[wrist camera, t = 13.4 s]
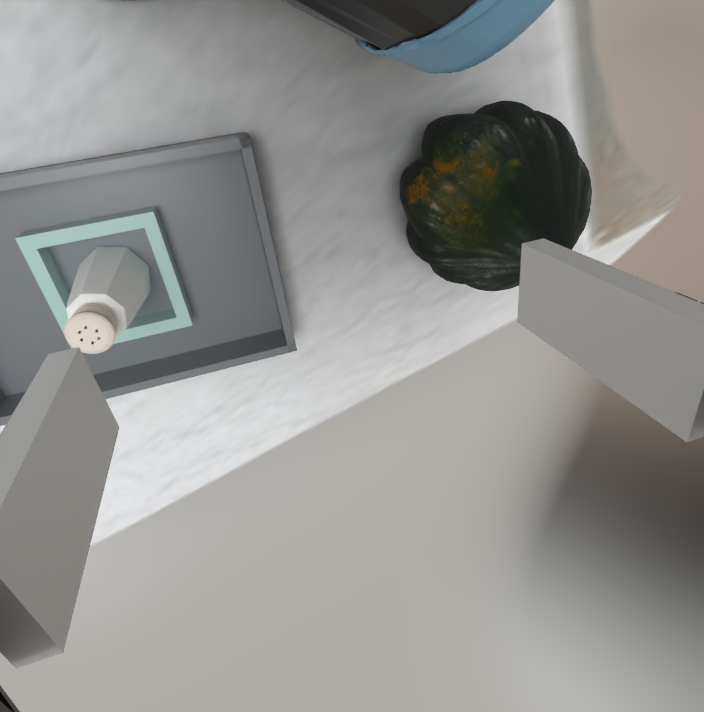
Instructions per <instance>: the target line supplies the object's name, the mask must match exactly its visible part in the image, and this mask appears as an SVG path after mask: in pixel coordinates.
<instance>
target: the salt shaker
mask: <svg viewBox="0 0 704 712" xmlns="http://www.w3.org/2000/svg"><path fill="white" fill-rule="evenodd" d="M150 291H151V283H150V272H149V266H148V265H147V264H146V263H145V262H144V261H143V260H141V259H140V258H139V257H138V256H137V255H135V254H134V253H133V252H132V251H131V250H130V249H128V248H127V247H97V248H96V249H95V250H94V251H93V252H92V253H91V254H90V255H89V256H88V257H86V258H85V259H84V260H83V261H82V262H81V263H80V264H79V267H78V270H77V274H76V277H75V280H74V283H73V286H72V289H71V293H70V296H69V299H68V302H67V307H66V310H67V316H68V321H67V322H66V324H65V327H64V335H65V338H66V340H67V342H68V343H69V344H70V345H71V346H72V347H73V348H77V347H79V348H80V350H81V352H83V353H88V354H98V353H102V352H104V351H106V350H108V349H109V348H110V347H111V346H112V345H113V343H114V341H115V339H116V338H117V337H118V336H119V335H120V334H121V333H122V332H123V331H124V330H125V329H126V328H127V327H128V326H129V324H130V323H131V321H132V320H133V318H134V317H135V315H136V314H137V312H138V310H139V309H140V307H141V306H142V304H143V302H144V301H145V299H146V298H147V296H148V295H149V293H150Z"/></svg>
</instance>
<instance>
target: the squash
mask: <svg viewBox="0 0 704 712" xmlns="http://www.w3.org/2000/svg"><path fill="white" fill-rule="evenodd" d="M591 196H592V188H591V181H590V176H589V171H588V169H587V167H586V165H585V163H584V162H583V161H582V159H581V158H580V156H579V155H578V151H577V148H576V145H575V143H574V140H573V138H572V136H571V134H570V133H569V131H568V130H567V128H566V127H565V126H564V125H563V124H562V123H561V122H560V121H558V120H557V119H555V118H553V117H552V116H550V115H548V114H545V113H542V112H539V111H533V110H532V109H531V108H530V107H528V106H526V105H524V104H522V103H519V102H513V101H500V102H496V103H492V104H489V105H485V106H483V107H482V108H481V109H479V110H478V111H476V112H475V114H456V115H449V116H443V117H440V118H438V119H436V120H434V121H432V122H431V123H430V124H428V126H427V128H426V130H425V132H424V136H423V140H422V158H421V159H419V160H417V161H415V162H413V163H412V164H410V165H409V166H408V167H407V168H406V169H405V170H404V172H403V174H402V176H401V180H400V199H401V202H402V205H403V208H404V211H405V213H406V215H407V218H408V223H407V229H406V235H407V239H408V242H409V245H410V247H411V248H412V250H413V251H414V253H415V254H416V255H417V256H419V257H420V258H421V259H422V260H424V261H425V262H427V263H429V264H430V266H431V267H432V269H433V271H434V272H435V273H436V274H437V275H439V276H440V277H442V278H443V279H445V280H447V281H450V282H454V283H459V284H466V285H468V286H471V287H473V288H475V289H479V290H484V291H499V290H505V289H510V288H513V287H516V286H518V285H520V267H521V249H522V243H526V242H530V241H535V240H539V239H543V238H544V239H546V240H549V241H551V242H553V243H556V244H558V245H561V246H563V247H566V248H568V249H570V250H572V249H573V247H574V245H575V244H576V242H577V240H578V238H579V237H580V235H581V233H582V232H583V230H584V228H585V226H586V223H587V219H588V216H589V212H590V205H591Z"/></svg>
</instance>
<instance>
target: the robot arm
mask: <svg viewBox="0 0 704 712" xmlns="http://www.w3.org/2000/svg"><path fill="white" fill-rule="evenodd" d="M283 1H285V2H287V3H289V4H291V5H293V6H294V7H296V8H298V9H300V10H302V11H304V12H306V13H308V14H310V15H312V16H313V17H315V18H317V19H319V20H321V21H323V22H325V23H327V24H329V25H331V26H332V27H334V28H336V29H338V30H340V31H342V32H344V33H346V34H348V35H349V36H351V37H353V38H355V41H356V43H357V44H358V45H359V46H360V47H362V48H364V49H365V50H367V51H369V52H371V53H373V54H378V55H386V56H391V57H393V58H395V59H397V60H399V61H402V62H404V63H406V64H408V65H410V66H412V67H415V68H417V69H419V70H421V71H424V72H428V73H452V72H458V71H462V70H465V69H467V68H470V67H472V66H475V65H477V64H479V63H481V62H483V61H485V60H486V59H488V58H489V57H491V56H493V55H494V54H496V53H497V52H499V51H500V50H501V49H503V48H504V47H506V46H507V45H508V44H509V43H511V42H512V41H513V40H514V39H516V38H517V37H518V36H519V35H520V34H521V33H522V32H524V31H525V30H526V29H527V28H528V27H529V26H530V25H531V24H532V23H533V22H534V21H535V20H536V19H537V18H538V17H539V16H540V15H541V14H542V13H543V12H544V11H545V10H546V9H547V8H548V7H549V6H550V5H551V4H552V2H553V1H554V0H283ZM518 323H520V324H521V325H523V326H524V327H526V328H527V329H528V330H530V331H531V332H532V333H534V334H536V335H537V336H538V337H540V338H541V339H542V340H544V341H545V342H547V343H548V344H549V345H551V346H552V347H554V348H555V349H556V350H558V351H559V352H561V353H562V354H563V355H565V356H567V357H568V358H569V359H570V360H572V361H574V362H575V363H576V364H578V365H579V366H580V367H582V368H583V369H585V370H586V371H587V372H589V373H590V374H592V375H593V376H595V377H596V378H597V379H599V380H600V381H602V382H603V383H604V384H606V385H607V386H609V387H610V388H611V389H613V390H614V391H616V392H617V393H619V394H620V395H621V396H623V397H624V398H626V399H627V400H628V401H630V402H631V403H633V404H634V405H635V406H637V407H638V408H640V409H641V410H643V411H644V412H645V413H647V414H648V415H649V416H651V417H652V418H654V419H655V420H657V421H658V422H659V423H661V424H662V425H664V426H665V427H666V428H668V429H670V430H671V431H672V432H673V433H675V434H676V435H678V436H679V437H681V438H682V439H683V440H685V441H686V442H689V441H692V440H695V439H698V438H701V437H704V303H701V302H700V303H699V302H697V300H694V299H692V298H689V297H687V296H685V295H682V294H680V293H676V292H672V291H670V290H667V289H665V288H663V287H660V286H658V285H655V284H653V283H651V282H648V281H646V280H643V279H641V278H638V277H636V276H633V275H631V274H629V273H626V272H624V271H621V270H619V269H616V268H614V267H612V266H609V265H607V264H604V263H602V262H600V261H597V260H595V259H592V258H590V257H587V256H585V255H583V254H580V253H578V252H575V251H573V250H570V249H568V248H566V247H563V246H561V245H558V244H556V243H553V242H551V241H549V240H546V239H544V238H543V239H539V240H535V241H530V242H526V243H522V249H521V267H520V285H519V303H518ZM118 430H119V426H118V424H117V422H116V420H115V418H114V416H113V414H112V412H111V410H110V408H109V406H108V404H107V402H106V400H105V398H104V396H103V394H102V392H101V390H100V388H99V386H98V384H97V382H96V380H95V378H94V376H93V374H92V372H91V370H90V368H89V366H88V364H87V362H86V360H85V358H84V356H83V354H82V352H81V350H80V348H79V347H77V348H73V349H68V350H64V351H60V352H55V353H51V354H48V355H47V357H46V359H45V360H44V362H43V364H42V365H41V367H40V369H39V370H38V372H37V374H36V375H35V377H34V379H33V381H32V382H31V384H30V386H29V387H28V389H27V391H26V392H25V394H24V396H23V397H22V399H21V401H20V402H19V404H18V406H17V407H16V409H15V411H14V412H13V414H12V416H11V417H10V419H9V421H8V422H7V424H6V426H5V427H4V429H3V431H2V432H1V434H0V652H1V653H2V654H3V655H4V656H5V657H6V658H7V659H8V661H10V663H11V664H12V665H13V666H14V667H15V668H19V667H21V666H24V665H28V664H30V663H33V662H36V661H39V660H42V659H45V658H48V657H51V656H54V655H57V654H60V653H63V651H64V647H65V643H66V639H67V635H68V631H69V627H70V622H71V619H72V615H73V611H74V607H75V603H76V599H77V595H78V591H79V587H80V583H81V578H82V575H83V571H84V567H85V563H86V559H87V555H88V550H89V547H90V543H91V539H92V535H93V531H94V527H95V523H96V519H97V515H98V511H99V507H100V502H101V498H102V494H103V490H104V486H105V482H106V478H107V474H108V470H109V466H110V462H111V458H112V454H113V450H114V446H115V442H116V438H117V434H118ZM0 712H19V710H18V709H17V708H16V706H15V705H14V703H13V702H12V701H11V699H10V698H9V697H8V695H7V694H6V693H5V692H4V690H3V689H2V687H1V686H0Z"/></svg>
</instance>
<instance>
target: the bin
mask: <svg viewBox="0 0 704 712" xmlns="http://www.w3.org/2000/svg"><path fill="white" fill-rule="evenodd" d="M97 247H127V248H128V249H130V250H131V251H132V252H133V253H134V254H135V255H137V256H138V257H139V258H140V259H141V260H143V261H144V262H145V263H146V264H147V265H148V266H149V272H150V283H151V291H150V293H149V295H148V296H147V298H146V299H145V301H144V302H143V304H142V306H141V307H140V309H139V310H138V312H137V314H136V315H135V317H134V318H133V320H132V321H131V323H130V324H129V326H128V327H127V328H126V329H125V330H124V331H123V332H122V333H121V334H120V335H119V336H118V337H117V338H116V339H115V341H114V343H113V345H112V346H111V347H110V348H109V349H108V350H106V351H104V352H102V353H98V354H88V353H83V352H82V354H83V356H84V358H85V360H86V362H87V364H88V366H89V368H90V370H91V372H92V374H93V376H94V378H95V380H96V382H97V384H98V386H99V388H100V390H101V392H102V394H103V396H104V398H105V399H107V398H111V397H115V396H119V395H123V394H127V393H131V392H135V391H139V390H143V389H147V388H151V387H155V386H159V385H163V384H166V383H170V382H174V381H178V380H182V379H186V378H190V377H194V376H198V375H202V374H206V373H210V372H214V371H218V370H222V369H226V368H229V367H233V366H237V365H241V364H245V363H249V362H253V361H257V360H261V359H265V358H269V357H273V356H277V355H281V354H285V353H289V352H292V351H296V350H297V348H296V344H295V340H294V335H293V331H292V326H291V322H290V317H289V313H288V308H287V304H286V299H285V295H284V290H283V286H282V281H281V277H280V272H279V268H278V264H277V259H276V255H275V250H274V246H273V241H272V237H271V232H270V228H269V223H268V219H267V214H266V210H265V205H264V201H263V196H262V192H261V187H260V183H259V179H258V174H257V170H256V165H255V161H254V156H253V152H252V147H251V143H250V138H249V136H248V135H247V134H246V133H244V132H243V133H237V134H231V135H225V136H219V137H213V138H207V139H202V140H196V141H190V142H184V143H178V144H172V145H166V146H160V147H154V148H148V149H143V150H137V151H131V152H125V153H119V154H113V155H107V156H101V157H95V158H89V159H84V160H78V161H72V162H66V163H60V164H54V165H48V166H42V167H36V168H30V169H25V170H19V171H13V172H7V173H1V174H0V426H1V425H5V424H7V422H8V421H9V419H10V417H11V416H12V414H13V412H14V411H15V409H16V407H17V406H18V404H19V402H20V401H21V399H22V397H23V396H24V394H25V392H26V391H27V389H28V387H29V386H30V384H31V382H32V381H33V379H34V377H35V375H36V374H37V372H38V370H39V369H40V367H41V365H42V364H43V362H44V360H45V359H46V357H47V355H48V354H51V353H55V352H60V351H64V350H68V349H73V347H72V346H71V345H70V344H69V343H68V342H67V340H66V338H65V335H64V327H65V324H66V322H67V321H68V316H67V310H66V307H67V302H68V299H69V296H70V293H71V289H72V286H73V283H74V280H75V277H76V274H77V270H78V267H79V264H80V263H81V262H82V261H83V260H84V259H85V258H86V257H88V256H89V255H90V254H91V253H92V252H93V251H94V250H95V249H96V248H97Z"/></svg>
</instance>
